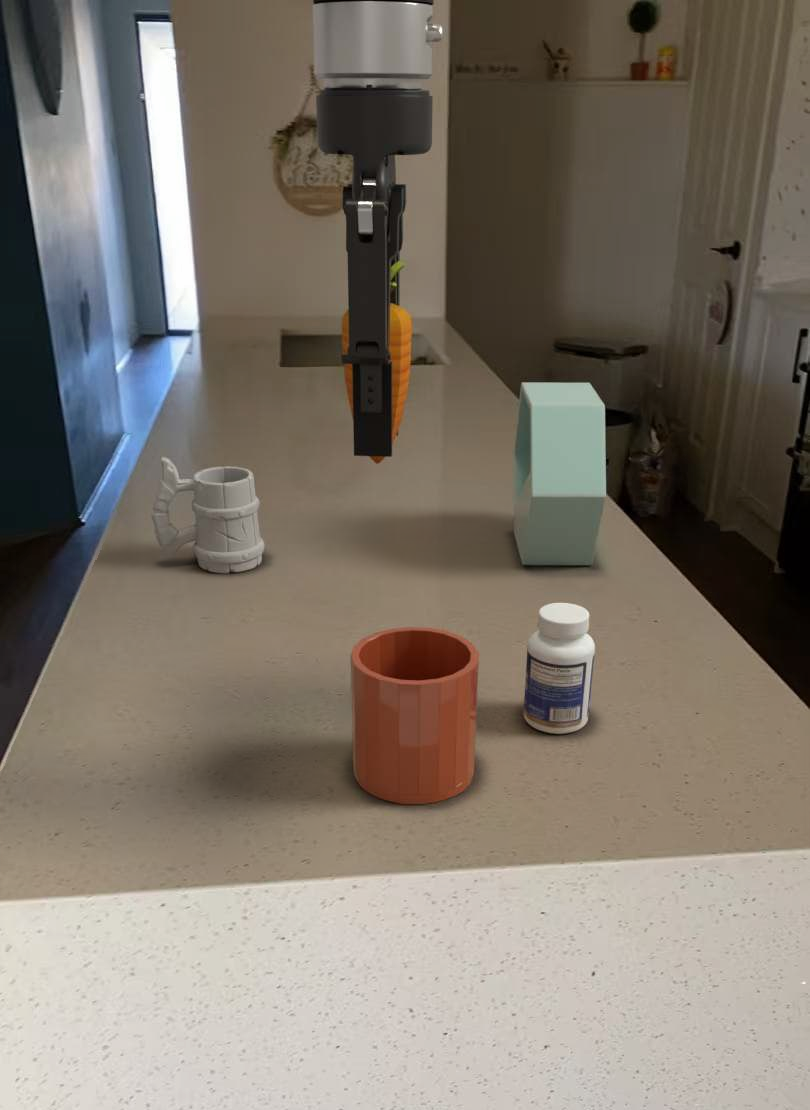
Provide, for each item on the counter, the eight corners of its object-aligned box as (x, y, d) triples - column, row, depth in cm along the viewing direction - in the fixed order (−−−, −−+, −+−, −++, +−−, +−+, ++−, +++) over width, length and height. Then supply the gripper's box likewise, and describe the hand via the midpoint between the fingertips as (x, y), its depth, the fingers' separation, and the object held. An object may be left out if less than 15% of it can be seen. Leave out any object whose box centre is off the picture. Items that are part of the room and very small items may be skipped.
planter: (514, 579, 128) (512, 408, 130) (580, 579, 128) (577, 408, 130) (532, 549, 112) (529, 352, 113) (607, 548, 112) (604, 352, 113)
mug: (267, 572, 118) (261, 463, 112) (156, 579, 116) (144, 469, 111) (262, 546, 125) (256, 443, 119) (157, 553, 123) (145, 448, 117)
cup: (345, 801, 80) (342, 680, 75) (362, 736, 88) (360, 624, 83) (471, 808, 79) (476, 687, 74) (476, 742, 87) (480, 629, 82)
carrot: (346, 453, 84) (342, 243, 77) (410, 453, 84) (412, 244, 77) (342, 472, 80) (337, 253, 72) (410, 473, 80) (412, 253, 72)
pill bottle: (542, 697, 94) (550, 593, 89) (599, 715, 91) (609, 609, 86) (510, 723, 90) (516, 615, 85) (568, 742, 87) (578, 632, 83)
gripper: (424, 84, 62) (419, 482, 73) (439, 86, 77) (433, 414, 89) (293, 83, 62) (308, 479, 73) (334, 86, 78) (341, 412, 89)
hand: (376, 443), depth 81 cm, fingers closed on carrot, 5 cm apart
